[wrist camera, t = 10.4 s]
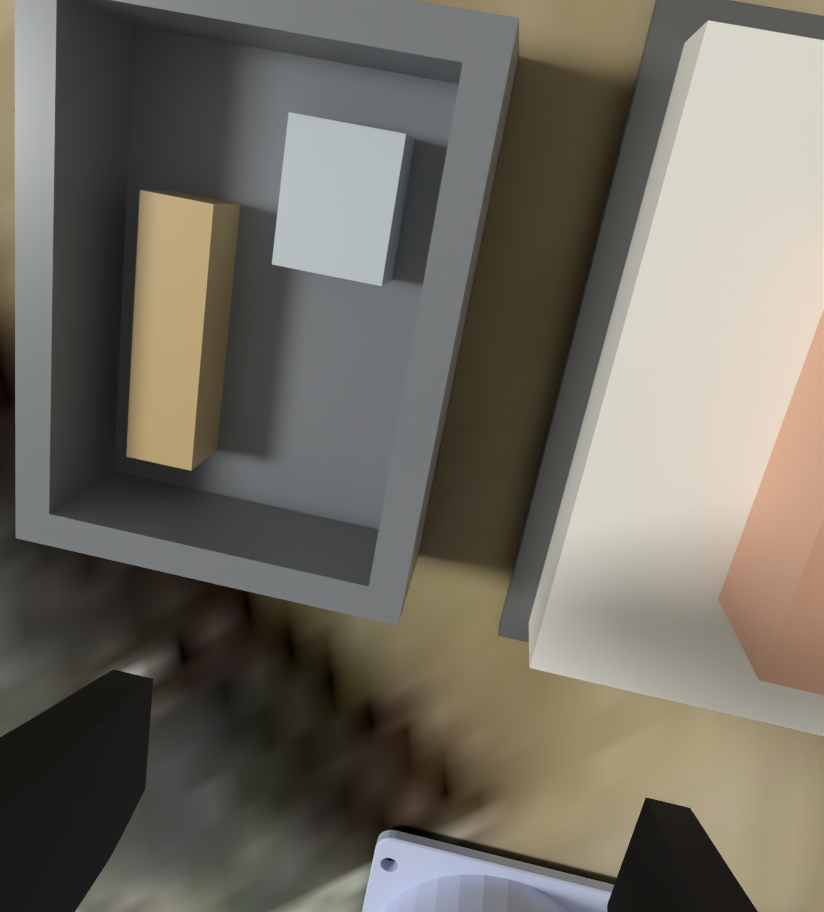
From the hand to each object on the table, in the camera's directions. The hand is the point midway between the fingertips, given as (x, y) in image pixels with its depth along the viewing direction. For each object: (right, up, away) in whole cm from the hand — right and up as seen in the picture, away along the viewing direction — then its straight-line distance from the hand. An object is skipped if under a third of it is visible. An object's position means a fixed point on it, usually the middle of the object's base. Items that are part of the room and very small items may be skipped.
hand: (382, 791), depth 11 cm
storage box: (-3, +9, +7) cm, 12 cm away
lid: (+10, +6, +6) cm, 13 cm away
